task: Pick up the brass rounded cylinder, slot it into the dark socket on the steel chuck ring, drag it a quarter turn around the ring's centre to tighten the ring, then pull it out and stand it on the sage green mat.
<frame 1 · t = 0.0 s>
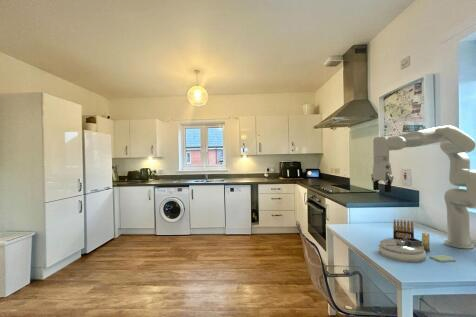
hand: (381, 191, 142), 31 cm above the table, tool pointing down, fingers open, 9 cm apart
ammunition clip: (403, 239, 158), on the table
brass rounded cylinder: (425, 250, 138), on the table
chuck ring: (401, 243, 132), point 6 cm above the table, hinge at 0.0°
key mat: (442, 259, 126), on the table
chuck housing: (401, 254, 132), on the table
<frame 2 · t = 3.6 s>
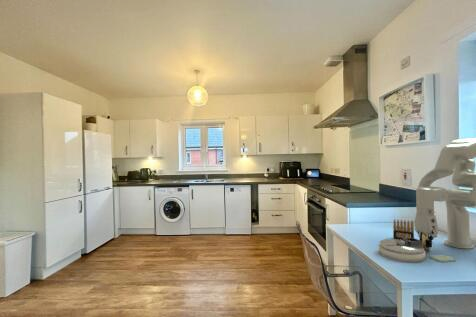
hand: (425, 245, 138), 3 cm above the table, tool pointing down, fingers closed on brass rounded cylinder, 3 cm apart
brass rounded cylinder: (425, 250, 138), on the table, touching gripper
everything else where it was.
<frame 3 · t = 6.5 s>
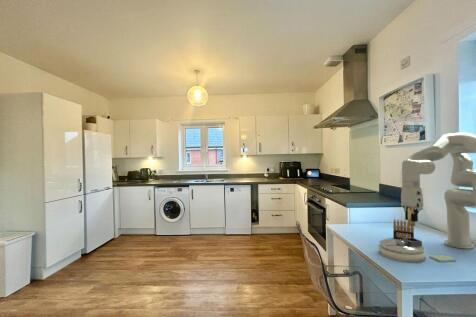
hand: (411, 220, 133), 17 cm above the table, tool pointing down, fingers closed on brass rounded cylinder, 3 cm apart
brass rounded cylinder: (411, 225, 133), point 15 cm above the table, touching gripper
everything else where it was.
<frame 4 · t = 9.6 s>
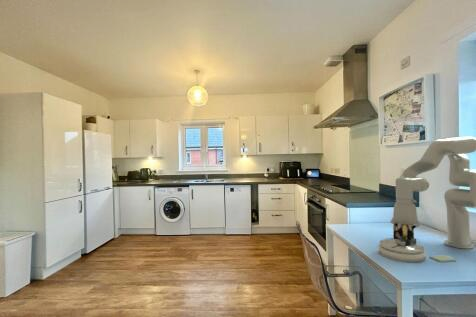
hand: (405, 236, 136), 8 cm above the table, tool pointing down, fingers closed on brass rounded cylinder, 3 cm apart
brass rounded cylinder: (405, 241, 136), point 6 cm above the table, touching chuck ring, gripper
chuck ring: (401, 243, 132), point 6 cm above the table, hinge at 25.2°, touching brass rounded cylinder
everything else where it was.
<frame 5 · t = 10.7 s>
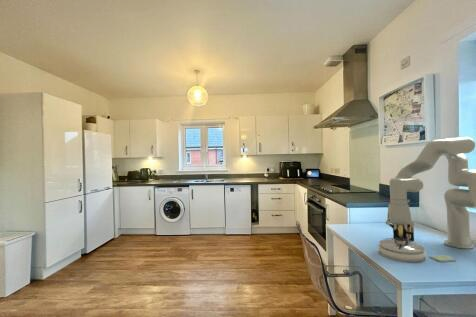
hand: (400, 236, 137), 8 cm above the table, tool pointing down, fingers closed on brass rounded cylinder, 3 cm apart
brass rounded cylinder: (400, 241, 137), point 5 cm above the table, touching chuck ring, gripper
chuck ring: (401, 243, 132), point 6 cm above the table, hinge at 48.2°, touching brass rounded cylinder, gripper
everything else where it was.
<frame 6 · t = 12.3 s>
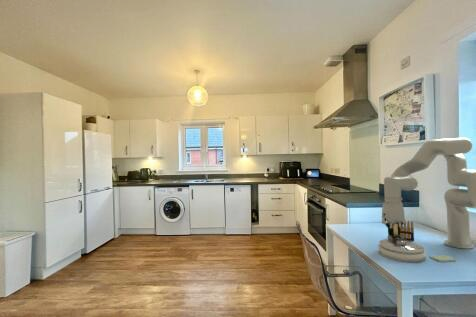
hand: (394, 234, 138), 8 cm above the table, tool pointing down, fingers closed on brass rounded cylinder, 3 cm apart
brass rounded cylinder: (394, 240, 138), point 6 cm above the table, touching gripper
chuck ring: (401, 243, 132), point 6 cm above the table, hinge at 74.7°
everything else where it was.
when the fingers open (5 cm above the table, at t = 19.0 s): brass rounded cylinder stays where it is, resting on key mat.
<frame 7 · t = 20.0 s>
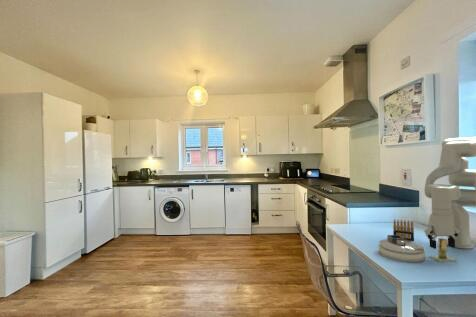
hand: (442, 247, 126), 6 cm above the table, tool pointing down, fingers open, 9 cm apart
brass rounded cylinder: (442, 257, 125), point 1 cm above the table, touching key mat
chuck ring: (401, 243, 132), point 6 cm above the table, hinge at 76.0°
everything else where it was.
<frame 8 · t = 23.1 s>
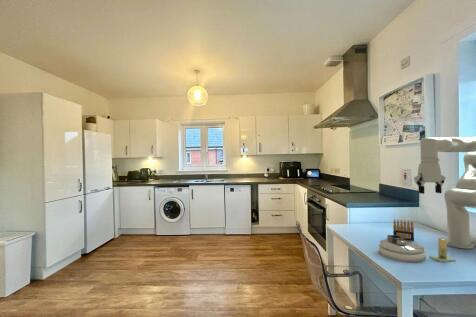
hand: (430, 193, 138), 30 cm above the table, tool pointing down, fingers open, 9 cm apart
nothing on the table moved.
at the end: chuck ring at +76° (first picture: +0°); brass rounded cylinder inside the target area on the key mat (0.3 cm from its centre), point 0.8 cm above the key mat's base; brass rounded cylinder tilted 1° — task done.
